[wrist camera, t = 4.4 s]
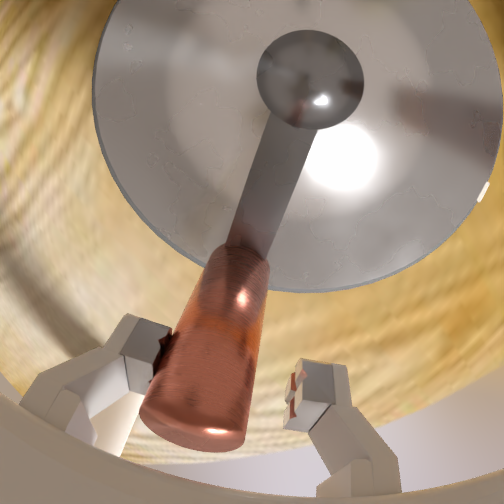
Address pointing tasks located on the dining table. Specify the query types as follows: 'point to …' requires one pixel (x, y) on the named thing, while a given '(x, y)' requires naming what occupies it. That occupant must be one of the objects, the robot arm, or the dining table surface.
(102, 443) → the cylindrical container
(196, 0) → the handwheel
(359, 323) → the dining table surface
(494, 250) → the dining table surface
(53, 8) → the dining table surface
